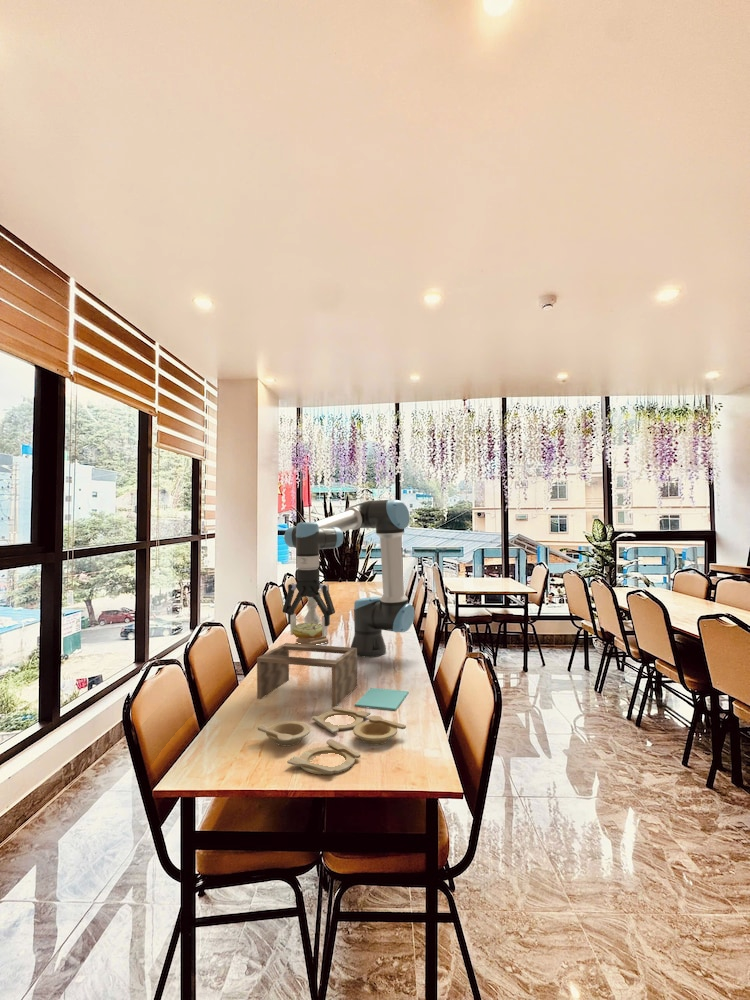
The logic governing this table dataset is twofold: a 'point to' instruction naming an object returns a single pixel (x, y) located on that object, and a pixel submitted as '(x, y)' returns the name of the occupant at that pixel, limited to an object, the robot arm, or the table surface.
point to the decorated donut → (308, 630)
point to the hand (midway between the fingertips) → (308, 634)
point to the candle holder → (312, 618)
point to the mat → (382, 698)
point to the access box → (277, 665)
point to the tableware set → (367, 731)
